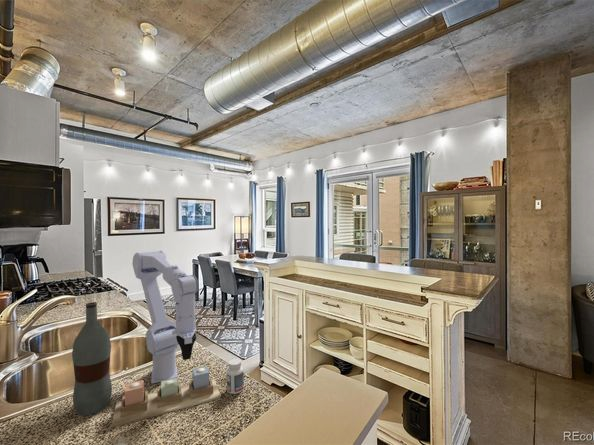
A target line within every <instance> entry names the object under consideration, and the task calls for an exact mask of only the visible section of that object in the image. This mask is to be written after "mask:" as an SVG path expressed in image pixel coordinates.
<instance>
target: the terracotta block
mask: <svg viewBox="0 0 594 445" xmlns="http://www.w3.org/2000/svg"><path fill="white" fill-rule="evenodd" d="M144 385H145V384H144V379H142V380H137V381H133V382H132V381H131V382H128V383H125V388H124V396H125V407H126V406H130V405H134V404H138V403H142V402H143V400H144V391H145V389H144V387H145V386H144Z"/></svg>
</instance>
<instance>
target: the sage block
mask: <svg viewBox="0 0 594 445" xmlns="http://www.w3.org/2000/svg"><path fill="white" fill-rule="evenodd" d="M177 383H178V377H177V378H174V379H170V380H165V381H161V382H160V387H161V398H162V397H166V396H170V395H174V394H178V384H177Z"/></svg>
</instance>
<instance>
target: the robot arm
mask: <svg viewBox="0 0 594 445" xmlns="http://www.w3.org/2000/svg"><path fill="white" fill-rule="evenodd" d="M131 264H132V268H133V272H134V275H135V278H136V279H138V280H140V282H141V285H142V290H143V294H144V297H145V301H146V305H147V310H148V313H149V317H150V321H151V325H150V327H149V328H147V331H146V332H145V339H146V340H145V341H146V344H145V345H146V348H147V351H148V352H149V353H150V354H152V369H151V379H150V380H151V384H156V383H157V384H158V383H161V381H165V380H170V379H174V378H177V379H178V369H177V365H176V364H177V363H176V361H177V360H176V354H177V352H176V349H178V345H179V347H180V352H181V356H182V360H183V361H187V360H191V357H192V351H193V347H194V344H195V343H196V340H197V335H196V332H197V322H196V294H197V292H198V291H199V287H200V285H199V284H200V283H199V281H198V280H199V279H198V278H197V277H196V275H195V274H187V273H186V272H185V271H183V270H182V269H181V268H179V266H178V265H177V264H175V265H171V264H170V262H169V261H168V260H167V255H166V253H165V252H164V251H163V250H157V251H155V250H154V251H145V252H135V254H133V257H132V263H131ZM161 275H162V279H163V281H165V282H166V283H167V284H168V285H169V286H170V289H171V293H172V298H173V302H175V321H173V320H170V319H169V318H168V316H167V312H166V309H165V305H164V302H163V298H162V294H161V292H160V287H159V284H158V277H159V276H161Z"/></svg>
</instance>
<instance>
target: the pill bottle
mask: <svg viewBox="0 0 594 445" xmlns="http://www.w3.org/2000/svg"><path fill="white" fill-rule="evenodd" d="M227 366H228V368H227V369H226V392H227V393H228V394H231V395H236V394H240V393H241V392H243V391H244V388H245V385H244V380H245V379H244V373H245V372H244V367H243V366H242V360H241V359H239V358H233V359H230V360H228V363H227Z"/></svg>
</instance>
